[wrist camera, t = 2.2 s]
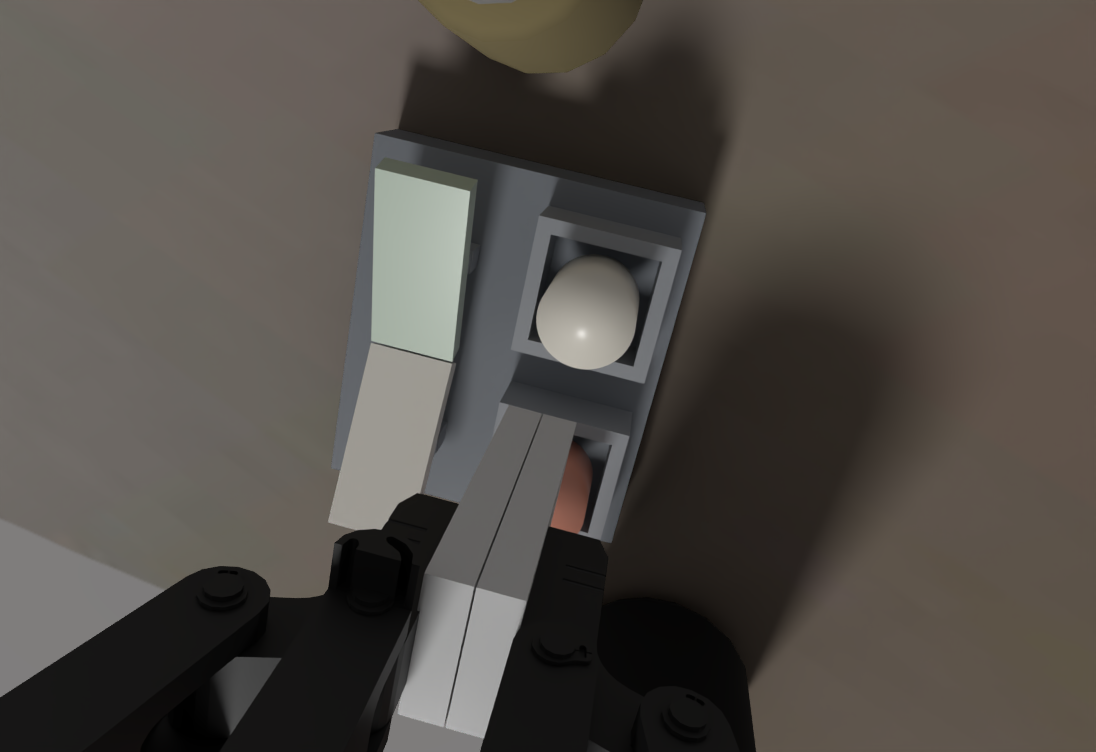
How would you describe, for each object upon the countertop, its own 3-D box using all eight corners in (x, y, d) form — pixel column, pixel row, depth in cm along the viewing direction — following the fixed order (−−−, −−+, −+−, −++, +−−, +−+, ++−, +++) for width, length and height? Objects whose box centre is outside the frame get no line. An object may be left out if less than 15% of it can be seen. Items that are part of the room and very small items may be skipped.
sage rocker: (483, 170, 30) (470, 191, 29) (464, 337, 36) (452, 361, 34) (392, 148, 31) (374, 168, 29) (386, 317, 36) (371, 341, 34)
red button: (601, 446, 34) (594, 482, 31) (582, 517, 36) (573, 559, 33) (520, 424, 35) (504, 459, 31) (503, 496, 36) (487, 536, 33)
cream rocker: (459, 362, 36) (451, 363, 34) (417, 533, 36) (407, 544, 35) (382, 342, 36) (370, 342, 34) (341, 513, 37) (327, 522, 35)
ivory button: (649, 266, 31) (647, 287, 28) (627, 351, 33) (622, 380, 30) (560, 244, 32) (547, 262, 29) (541, 329, 33) (527, 355, 30)
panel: (703, 202, 35) (708, 224, 30) (615, 511, 41) (607, 574, 36) (397, 129, 36) (351, 137, 31) (354, 442, 42) (308, 493, 37)
